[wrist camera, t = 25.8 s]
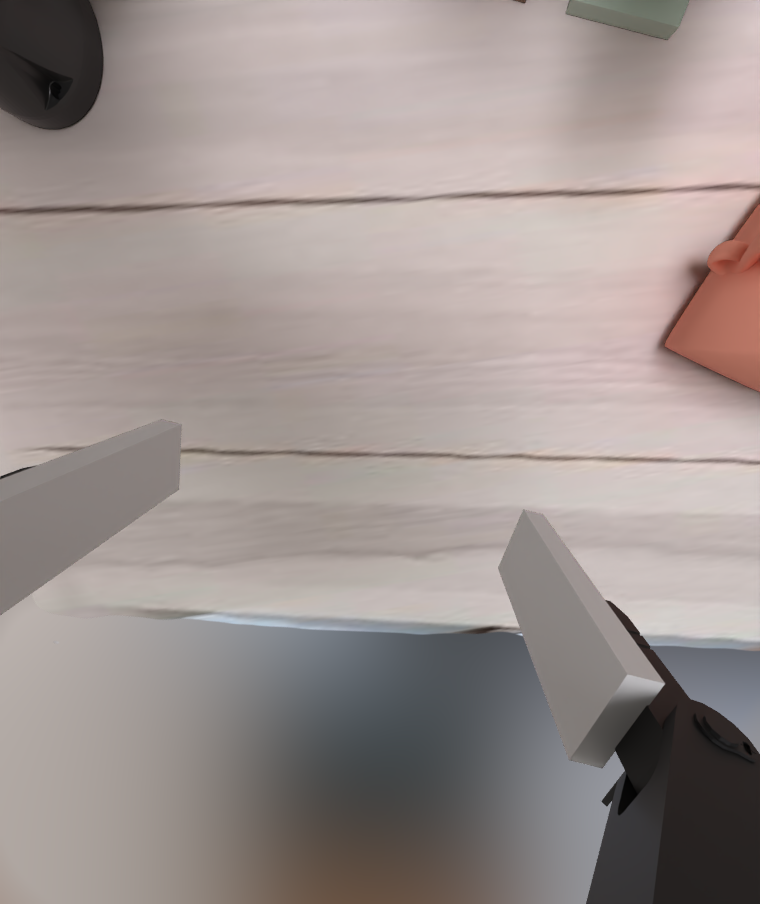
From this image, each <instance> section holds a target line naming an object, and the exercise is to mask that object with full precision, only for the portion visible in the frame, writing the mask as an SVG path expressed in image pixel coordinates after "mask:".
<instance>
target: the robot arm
mask: <svg viewBox="0 0 760 904" xmlns="http://www.w3.org/2000/svg"><path fill="white" fill-rule="evenodd" d="M101 74H102V47H101V40H100V34H99V30H98V26H97V22H96V19H95V16H94V13H93V10H92V8H91V5H90V3H89V1H88V0H0V108H1V109H3V110H5V111H6V112H8V113H10V114H12V115H14V116H16V117H17V118H19V119H21V120H23V121H25V122H27V123H29V124H31V125H34V126H37V127H41V128H47V129H58V128H63V127H67V126H69V125H72V124H73V123H75V122H77V121H78V120H79V119H81V118H82V117H83V116H84V115H85V114H86V113H87V111H88V110H89V109H90V107H91V105H92V104H93V102H94V100H95V97H96V95H97V92H98V89H99V85H100V80H101ZM181 426H182V424H178V423H174V422H170V421H166V420H162V419H161V420H158V421H156V422H153V423H150V424H148V425H145V426H142V427H140V428H137V429H134V430H132V431H129V432H126V433H123V434H121V435H118V436H115V437H113V438H110V439H107V440H105V441H102V442H99V443H97V444H94V445H91V446H89V447H86V448H83V449H80V450H78V451H75V452H72V453H70V454H67V455H64V456H62V457H59V458H56V459H54V460H51V461H48V462H46V463H43V464H40V465H37V466H32V467H27V468H22V469H19V470H17V471H14V472H11V473H8V474H6V475H3V476H0V615H2V614H3V613H4V612H6V611H7V610H9V609H10V608H11V607H13V606H14V605H15V604H17V603H19V602H20V601H21V600H23V599H24V598H25V597H27V596H28V595H30V594H31V593H33V592H34V591H36V590H37V589H38V588H40V587H41V586H43V585H44V584H45V583H47V582H48V581H50V580H51V579H53V578H54V577H55V576H57V575H58V574H60V573H61V572H63V571H64V570H65V569H67V568H68V567H70V566H71V565H72V564H74V563H75V562H77V561H78V560H80V559H81V558H82V557H84V556H85V555H87V554H88V553H89V552H91V551H92V550H94V549H95V548H97V547H98V546H99V545H101V544H102V543H104V542H105V541H106V540H108V539H109V538H111V537H112V536H114V535H115V534H116V533H118V532H119V531H121V530H122V529H123V528H125V527H126V526H128V525H129V524H131V523H132V522H133V521H135V520H136V519H138V518H139V517H140V516H142V515H143V514H145V513H146V512H148V511H149V510H150V509H152V508H153V507H155V506H156V505H158V504H159V503H160V502H162V501H163V500H165V499H166V498H167V497H169V496H170V495H172V494H173V493H175V492H176V491H177V490H179V479H180V453H181ZM498 569H499V572H500V575H501V577H502V580H503V583H504V586H505V588H506V591H507V594H508V596H509V599H510V602H511V604H512V607H513V610H514V612H515V615H516V618H517V621H518V623H519V626H520V629H521V631H522V634H523V637H524V639H525V642H526V645H527V648H528V650H529V653H530V656H531V658H532V661H533V664H534V666H535V669H536V672H537V675H538V677H539V680H540V683H541V685H542V688H543V691H544V693H545V696H546V699H547V701H548V704H549V707H550V710H551V712H552V715H553V718H554V720H555V723H556V726H557V728H558V731H559V734H560V736H561V739H562V742H563V745H564V747H565V750H566V753H567V755H568V758H569V760H571V761H575V762H579V763H583V764H587V765H591V766H595V767H599V768H603V767H604V766H605V764H606V763H607V761H608V760H609V759H610V757H611V756H612V755H613V753H614V752H615V751H616V753H617V755H618V757H619V759H620V761H621V763H622V765H623V767H624V769H625V772H624V773H623V774H622V775H621V777H620V778H619V779H618V780H617V782H616V783H615V784H614V786H613V787H612V788H611V789H610V791H609V792H608V793H607V795H606V796H605V797H604V799H603V800H602V802H603V803H604V804H605V805H606V806H608V805H609V803H610V802H611V801H612V804H611V808H610V812H609V816H608V820H607V824H606V828H605V832H604V836H603V840H602V844H601V847H600V851H599V855H598V859H597V863H596V867H595V871H594V875H593V879H592V883H591V887H590V891H589V894H588V898H587V902H586V904H760V754H759V752H758V751H757V750H756V748H755V747H754V746H753V744H752V743H751V742H750V740H749V739H748V738H747V737H746V736H745V735H744V734H743V733H742V732H741V731H740V730H739V729H738V728H737V727H736V726H735V725H734V724H733V723H732V722H730V721H729V720H727V719H726V718H725V717H724V716H722V715H721V714H720V713H718V712H717V711H715V710H713V709H712V708H710V707H708V706H706V705H705V704H703V703H700V702H697V701H694V700H691V699H690V698H689V697H688V696H687V694H686V693H685V692H684V690H683V689H682V688H681V686H680V685H679V684H678V683H677V681H676V680H675V679H674V677H673V676H672V675H671V673H670V672H669V671H668V669H667V668H666V667H665V665H664V664H663V663H662V661H661V660H660V659H659V657H658V656H657V655H656V653H655V652H654V651H653V650H650V646H649V644H648V643H647V642H646V640H645V639H644V638H643V636H640V632H639V631H638V630H637V628H636V627H635V626H634V624H633V623H632V622H631V620H630V619H629V618H628V617H627V616H626V615H625V614H624V613H623V612H622V611H621V610H620V609H619V608H617V607H616V606H615V605H614V604H613V603H612V602H611V601H607V600H605V599H604V598H603V597H602V595H601V594H600V592H599V591H598V590H597V588H596V587H595V585H594V584H593V583H592V581H591V580H590V579H589V577H588V576H587V574H586V573H585V572H584V570H583V569H582V567H581V566H580V565H579V563H578V562H577V560H576V559H575V558H574V556H573V555H572V553H571V552H570V551H569V549H568V548H567V547H566V545H565V544H564V542H563V541H562V540H561V538H560V537H559V535H558V534H557V533H556V531H555V530H554V528H553V527H552V526H551V524H550V523H549V522H548V520H547V519H546V517H545V516H544V515H543V514H540V513H536V512H532V511H528V510H524V509H523V512H522V514H521V516H520V519H519V521H518V523H517V526H516V528H515V530H514V532H513V535H512V537H511V539H510V542H509V544H508V546H507V549H506V551H505V553H504V556H503V558H502V560H501V563H500V565H499V567H498Z"/></svg>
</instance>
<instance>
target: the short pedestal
mask: <svg viewBox="0 0 760 904" xmlns="http://www.w3.org/2000/svg"><path fill="white" fill-rule="evenodd" d="M688 3H689V0H570V1H569V5H568V8H567V11H566V14H569V15H573V16H577V17H581V18H585V19H589V20H593V21H596V22H600V23H604V24H608V25H612V26H616V27H620V28H624V29H627V30H631V31H635V32H639V33H643V34H647V35H651V36H654V37H658V38H662V39H666V40H668V39H669V38H670V36H671V35H672V34H673V33H674V32H675V31H676V30H677V29H678V28H679V26H680V23H681V20H682V18H683V15H684V13H685V10H686V8H687V5H688Z"/></svg>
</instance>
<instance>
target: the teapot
mask: <svg viewBox="0 0 760 904" xmlns="http://www.w3.org/2000/svg"><path fill="white" fill-rule="evenodd" d="M707 264H708V267H709V268H710V269H711V271H710V273H709V274H708V276H707V277H706V279H705V280H704V282H703V283H702V285H701V286H700V288H699V289H698V291H697V292H696V294H695V295H694V297H693V298H692V300H691V302H690V303H689V305H688V306H687V308H686V309H685V311H684V312H683V314H682V315H681V317H680V319H679V320H678V322H677V323H676V325H675V327H674V328H673V330H672V331H671V333H670V335H669V337H668V338H667V340H666V342H665V347H667V348H668V349H670V350H672V351H674V352H676V353H678V354H680V355H682V356H684V357H686V358H688V359H690V360H692V361H694V362H696V363H698V364H700V365H702V366H704V367H706V368H708V369H710V370H713V371H715V372H717V373H719V374H721V375H723V376H725V377H727V378H730V379H732V380H734V381H736V382H738V383H740V384H743V385H745V386H747V387H749V388H751V389H754V390H756V391H758V392H760V203H759V205H758V206H757V207H756V209H755V210H754V211H753V213H752V214H751V215H750V217H749V218H748V220H747V221H746V222H745V224H744V225H743V226H742V228H741V229H740V230H739V232H738V233H737V235H736V236H735V237H734V239H733V240H729V241H725V242H723V243H721V244H720V245H718V246H717V247H716V248H715V249H714V250H713V251H712V252H711V253H710V255H709V258H708V261H707Z"/></svg>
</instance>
